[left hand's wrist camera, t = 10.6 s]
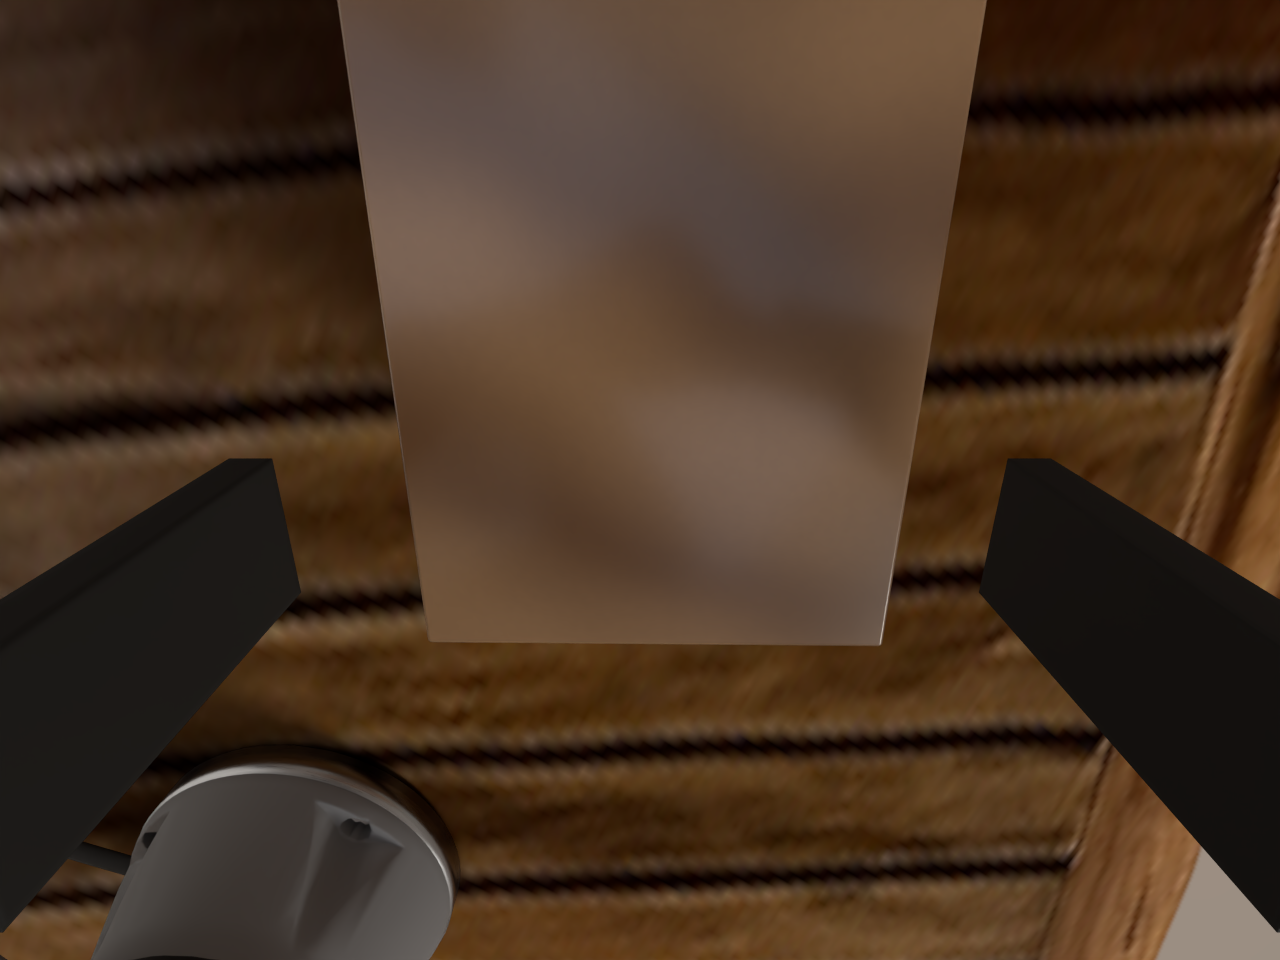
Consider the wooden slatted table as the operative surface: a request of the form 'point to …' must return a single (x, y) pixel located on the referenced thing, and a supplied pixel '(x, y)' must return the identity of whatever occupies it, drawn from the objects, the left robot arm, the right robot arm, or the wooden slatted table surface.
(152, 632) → the left robot arm
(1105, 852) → the wooden slatted table surface
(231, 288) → the wooden slatted table surface
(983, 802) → the wooden slatted table surface
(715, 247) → the cabinet
